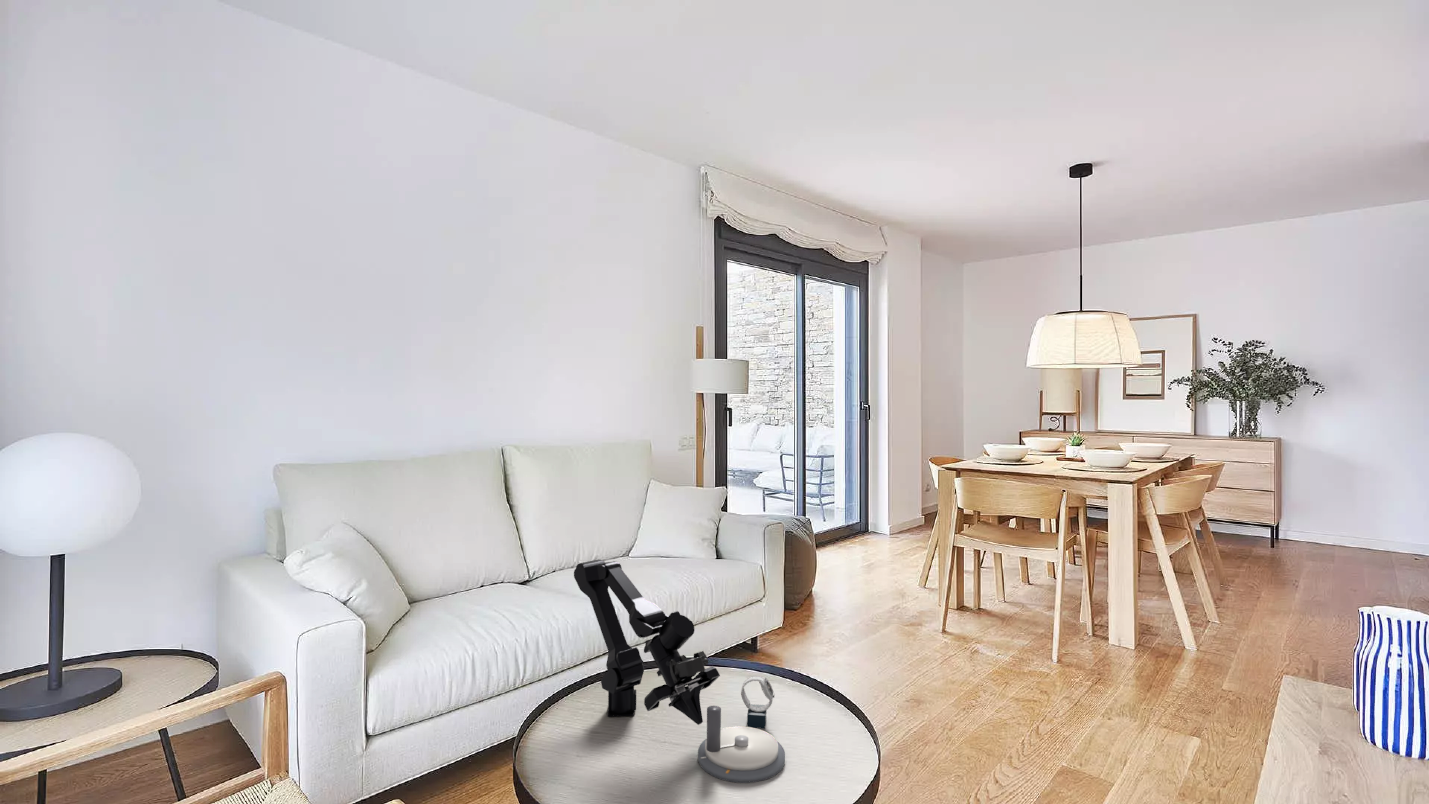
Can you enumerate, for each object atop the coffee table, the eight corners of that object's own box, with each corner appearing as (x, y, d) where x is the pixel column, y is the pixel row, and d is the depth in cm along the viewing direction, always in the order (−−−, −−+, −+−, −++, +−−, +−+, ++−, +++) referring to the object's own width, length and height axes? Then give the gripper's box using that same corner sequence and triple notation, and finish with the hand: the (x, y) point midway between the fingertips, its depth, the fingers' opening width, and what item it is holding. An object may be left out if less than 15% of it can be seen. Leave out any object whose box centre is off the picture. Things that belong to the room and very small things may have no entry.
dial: (707, 772, 152) (708, 723, 151) (702, 733, 168) (702, 689, 167) (784, 769, 153) (785, 721, 153) (771, 731, 169) (772, 687, 169)
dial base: (701, 784, 150) (701, 776, 150) (695, 738, 169) (695, 731, 169) (792, 780, 152) (792, 773, 152) (776, 735, 171) (776, 728, 171)
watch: (773, 729, 174) (774, 683, 173) (739, 726, 175) (740, 681, 174) (774, 718, 179) (775, 674, 179) (741, 715, 180) (742, 671, 180)
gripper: (652, 652, 158) (686, 720, 150) (714, 632, 171) (748, 693, 163) (630, 677, 164) (661, 744, 156) (691, 655, 177) (723, 716, 169)
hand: (700, 723), depth 161 cm, fingers closed
